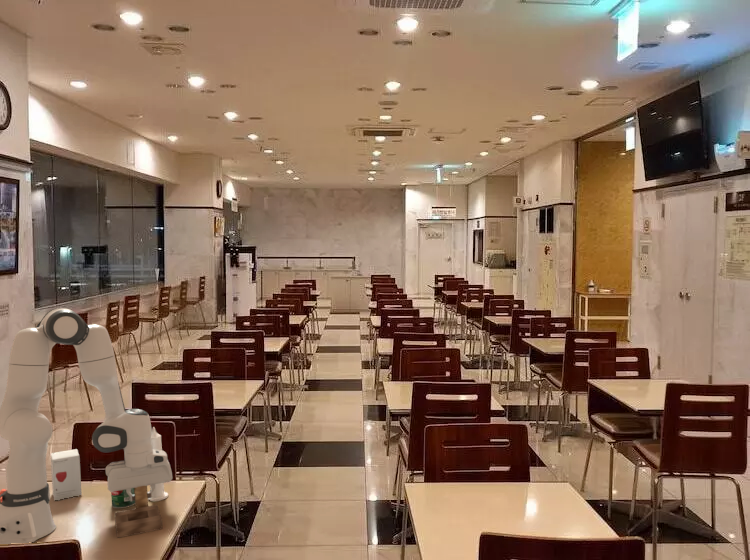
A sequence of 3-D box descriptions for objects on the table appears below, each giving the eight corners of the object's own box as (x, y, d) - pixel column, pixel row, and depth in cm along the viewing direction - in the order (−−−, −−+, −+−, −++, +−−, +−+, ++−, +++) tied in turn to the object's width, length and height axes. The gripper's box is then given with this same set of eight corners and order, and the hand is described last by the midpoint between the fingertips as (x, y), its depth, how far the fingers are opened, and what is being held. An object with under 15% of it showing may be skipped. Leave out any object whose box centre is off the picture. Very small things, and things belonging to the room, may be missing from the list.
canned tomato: (106, 507, 224) (104, 475, 223) (121, 498, 231) (119, 467, 231) (127, 509, 222) (125, 476, 221) (141, 499, 230) (139, 468, 229)
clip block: (117, 537, 200) (116, 528, 200) (115, 521, 212) (114, 512, 212) (162, 528, 205) (161, 519, 205) (157, 513, 217) (157, 504, 217)
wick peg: (136, 514, 217) (134, 487, 216) (135, 510, 221) (133, 483, 220) (149, 512, 219) (147, 485, 218) (147, 507, 222) (146, 481, 222)
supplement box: (54, 501, 231) (51, 459, 230) (52, 493, 238) (49, 452, 237) (82, 496, 235) (79, 454, 234) (79, 488, 243) (77, 448, 242)
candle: (142, 499, 230) (138, 428, 228) (158, 492, 236) (154, 423, 234) (157, 502, 226) (153, 430, 225) (172, 495, 233) (168, 425, 231)
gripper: (105, 466, 211) (108, 508, 212) (171, 455, 220) (174, 496, 221) (104, 460, 217) (107, 501, 218) (169, 450, 225) (171, 490, 226)
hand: (141, 499), depth 219 cm, fingers closed on wick peg, 4 cm apart
